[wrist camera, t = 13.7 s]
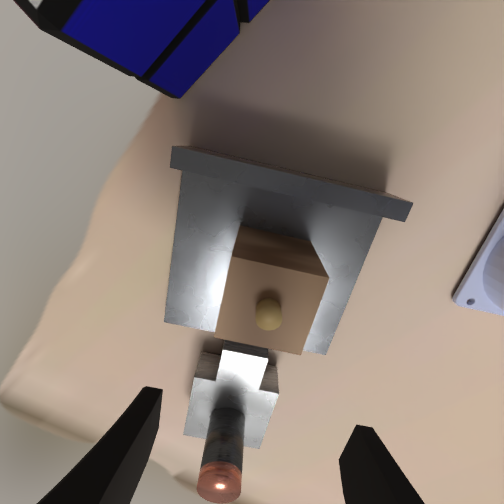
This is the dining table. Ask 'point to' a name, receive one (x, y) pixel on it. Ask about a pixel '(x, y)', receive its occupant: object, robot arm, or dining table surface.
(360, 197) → the metal bracket
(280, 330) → the wooden block
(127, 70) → the puzzle cube
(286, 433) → the dining table surface
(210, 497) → the ram
